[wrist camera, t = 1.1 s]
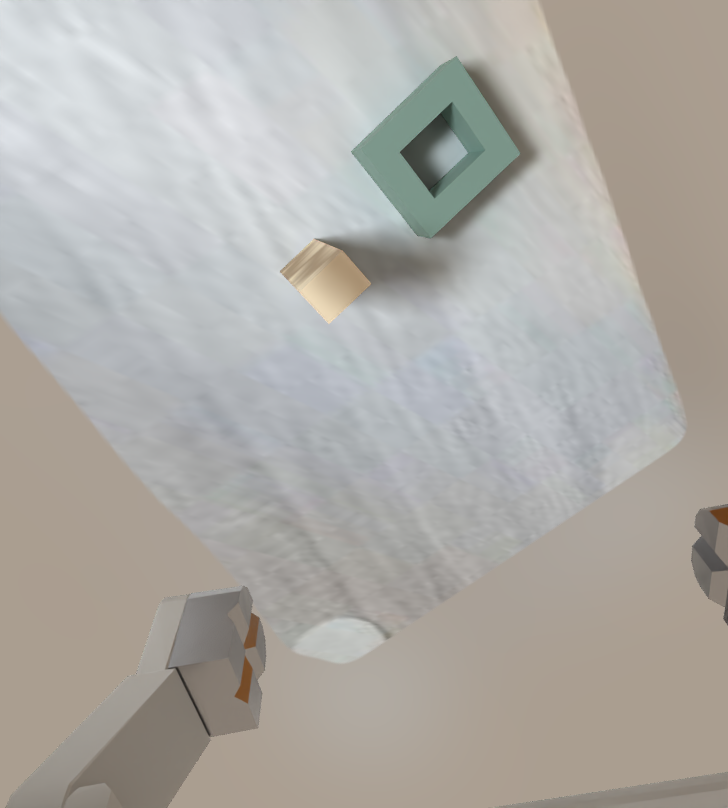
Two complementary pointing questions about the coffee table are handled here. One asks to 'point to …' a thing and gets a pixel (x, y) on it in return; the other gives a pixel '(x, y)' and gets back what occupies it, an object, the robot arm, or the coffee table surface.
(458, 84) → the sage square frame
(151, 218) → the coffee table surface
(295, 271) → the light wooden block
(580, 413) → the coffee table surface
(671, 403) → the coffee table surface
